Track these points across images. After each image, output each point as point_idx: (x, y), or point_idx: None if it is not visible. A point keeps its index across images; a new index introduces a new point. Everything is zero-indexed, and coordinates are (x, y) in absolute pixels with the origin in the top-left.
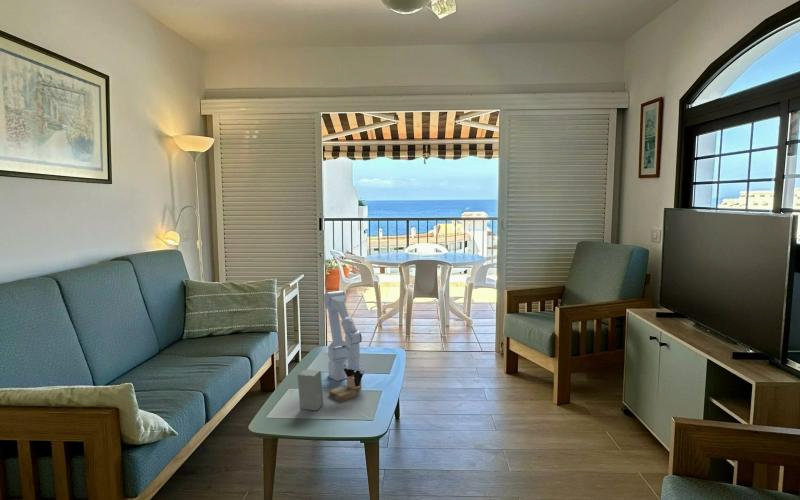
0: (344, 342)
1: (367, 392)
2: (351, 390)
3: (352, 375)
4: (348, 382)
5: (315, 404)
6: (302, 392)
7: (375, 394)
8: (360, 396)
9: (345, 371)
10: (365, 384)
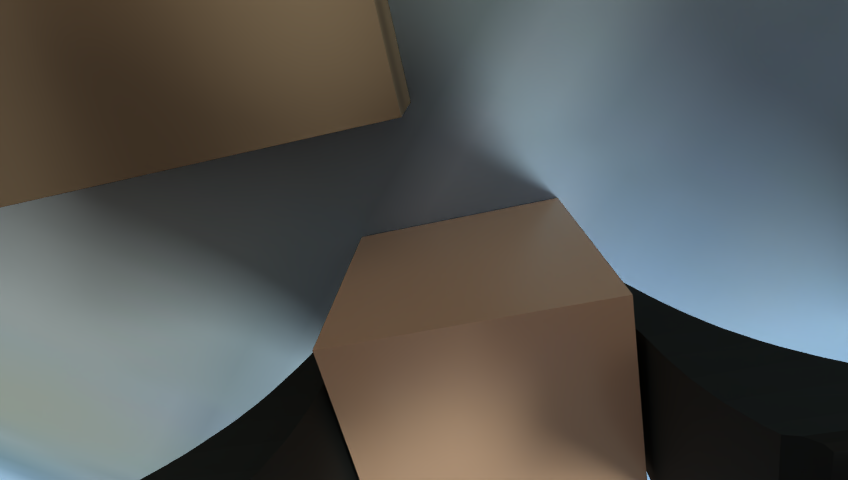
0: None
1: (170, 382)
2: (20, 121)
3: (630, 458)
4: (519, 250)
5: None
6: None
7: (62, 436)
8: (40, 234)
9: (834, 396)
10: None
